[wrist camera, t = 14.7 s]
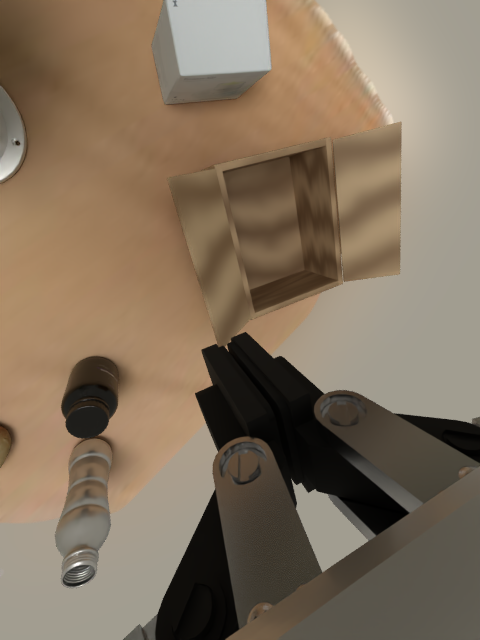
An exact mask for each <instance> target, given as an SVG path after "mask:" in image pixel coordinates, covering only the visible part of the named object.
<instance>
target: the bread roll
mask: <svg viewBox="0 0 480 640" xmlns="http://www.w3.org/2000/svg"><path fill="white" fill-rule="evenodd" d="M10 446H11V438H10V435H9V433H8V431H7V429H4V428H3V427H1V426H0V468H1V466H2V464H3V463H4V461H5V459H6V457H7V455H8V452H9V450H10Z"/></svg>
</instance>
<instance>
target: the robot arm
mask: <svg viewBox="0 0 480 640" xmlns="http://www.w3.org/2000/svg"><path fill="white" fill-rule="evenodd" d="M17 141H19V142H20V146H17V145H16V142H17ZM26 149H27V136H26V131H25V126H24V123H23V120H22V117H21V115H20V112H19V111H18V109H17V107H16V105H15V104H14V102H13V100H12V99H11V98H10V96H9V95H8V94H7V92H6V91H5V90H4V88H3V87H2V86H1V85H0V183H3V182H5V181H6V180H8V179H9V178H11V177H12V176H13V175H14V174H15V173H16V172H17V171H18V169H19V168H20V166H21V164H22V162H23V161H24V158H25V154H26ZM227 346H228V350H229V352H228V351H227V349H226V348H225V347H224V346H220V347H218V345H217V344H214V345H212V346H210V347H207V348H205V349H202V354H203V357H204V360H205V363H206V366H207V369H208V372H209V375H210V378H211V381H212V384H213V386H211V387H208V388H206V389H204V390H202V391H199V392H197V393H195V395H196V398H197V400H198V403H199V406H200V408H201V411H202V413H203V416H204V419H205V421H206V424H207V426H208V428H209V431H210V433H211V436H212V438H213V441H214V443H215V445H216V448H217V450H218V454H217V455H216V456H215V459H214V462H213V478H214V483H215V491H214V493H213V495H212V497H211V499H210V501H209V503H208V505H207V507H206V510H205V512H204V514H203V516H202V518H201V520H200V522H199V524H198V526H197V528H196V531H195V533H194V535H193V537H192V539H191V541H190V543H189V545H188V547H187V550H186V552H185V554H184V556H183V558H182V560H181V562H180V564H179V566H178V569H177V570H176V573H175V575H174V577H173V579H172V581H171V583H170V585H169V588H168V589H167V591H166V594H165V596H164V598H163V600H162V603H161V607H160V609H159V612H158V614H157V615H156V616H155V617H154V618H153V619H152V620H151V621H150V622H149V623H148V624H146V626H144V627H143V628H142V627H141V625H140V624H139V625H138V626H137V627H136V628H135V629H134V630H133V631H132V632H131V633H130V634H128V635H127V636H126V637H125V638H124V639H123V640H480V417H478V418H474V419H472V424H471V423H467V422H463V421H457V420H449V419H440V418H431V417H421V416H413V415H404V414H395V413H392V412H390V411H388V410H387V409H385V408H383V407H382V406H380V405H378V404H376V403H375V402H373V401H371V400H369V399H367V398H366V397H364V396H362V395H360V394H358V393H355V392H352V391H347V390H337V391H332V392H328V393H326V394H324V393H323V392H322V391H320V390H319V389H318V388H317V387H316V386H315V385H314V384H313V383H311V382H310V381H309V380H308V379H307V378H306V377H305V376H303V374H301V373H300V372H299V371H298V370H297V369H296V368H295V367H294V366H292V365H291V364H290V363H289V362H288V361H287V360H286V359H285V358H283V357H282V356H279V357H277V358H272V356H271V355H269V354H268V353H267V352H266V351H265V350H264V349H263V348H262V347H261V346H260V345H259V344H258V343H257V342H256V341H255V340H254V339H253V338H252V337H251V336H250V335H249V334H248V333H246V332H244V333H242V334H239V335H237V336H234V337H232V338H231V342H230V343H228V344H227ZM291 479H292V480H293V482H294V483H295V484H296V485H298V484H299V483H302V484H303V486H304V487H305V489H306V490H307V492H308V493H309V492H311V491H312V490H314V489H316V490H317V491H318V492H322V493H326V494H328V496H329V498H330V500H331V501H332V502H333V504H334V505H335V506H336V507H337V508H338V509H339V510H340V511H341V512H342V513H343V514H344V515H345V516H346V517H347V518H348V520H349V521H350V522H351V523H352V524H353V525H354V526H355V527H356V528H357V529H358V530H359V531H360V532H361V533H362V534H363V535H364V536H365V537H366V538H367V539H368V540H369V541H368V542H367V543H365V544H364V545H362V546H361V547H360V548H358V549H356V550H355V551H354V552H352V553H351V554H349V555H348V556H346V557H345V558H344V559H342V560H340V561H339V562H337V563H336V564H334V565H333V566H331V567H330V568H329V569H327V570H326V571H325V572H323V573H322V570H321V568H320V566H319V563H318V561H317V558H316V556H315V554H314V551H313V549H312V546H311V544H310V542H309V539H308V537H307V534H306V532H305V530H304V527H303V525H302V523H301V520H300V518H299V515H298V513H297V510H296V505H297V502H296V497H295V493H294V489H293V484H292V480H291Z"/></svg>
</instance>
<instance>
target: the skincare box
mask: <svg viewBox="0 0 480 640" xmlns="http://www.w3.org/2000/svg"><path fill="white" fill-rule="evenodd" d="M152 51H153V55H154V60H155V65H156V69H157V74H158V78H159V83H160V88H161V92H162V97H163V101H164V104H178V103H190V102H202V101H213V100H225V99H237V98H238V97H239V96H240V95H242V94H243V93H244V92H245V91H246V90H247V89H249V88H250V87H251V86H252V85H253V84H255V83H256V82H257V81H258V80H259V79H261V78H262V77H263V76H264V75H265V74H267V73H268V72H269V71H270V70H271V54H270V42H269V30H268V18H267V6H266V0H163V5H162V9H161V13H160V16H159V20H158V24H157V28H156V31H155V35H154V39H153V41H152Z"/></svg>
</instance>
